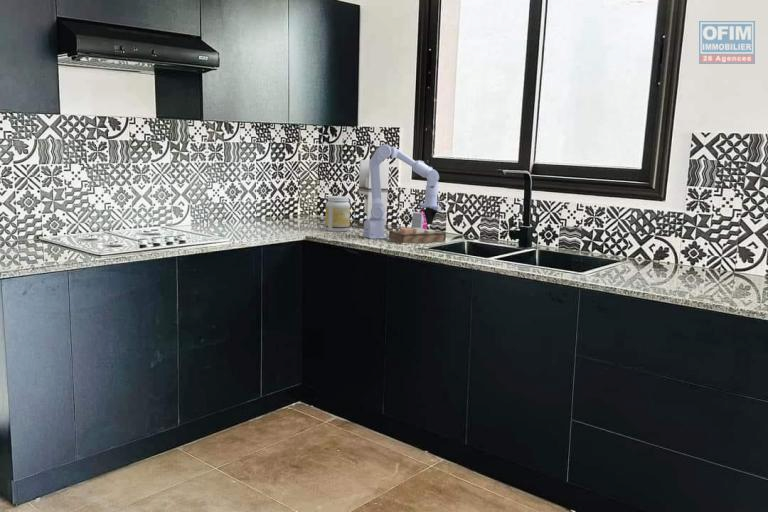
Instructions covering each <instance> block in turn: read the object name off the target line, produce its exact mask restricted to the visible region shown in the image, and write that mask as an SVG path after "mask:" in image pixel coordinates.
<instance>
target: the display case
mask: <svg viewBox="0 0 768 512" xmlns="http://www.w3.org/2000/svg"><path fill="white" fill-rule="evenodd" d="M370 160H371V159H359V175H358V194H361V195H364V209H363V210H364V213H365V214H366V217H365V218H366V219H365V220H367V219H370V217H371V209H372V190H371V175H370ZM389 175H390V161H385V160H384V161H383V162H382V163H381V164H380V180H381V195H382V204H383V207H384V209H385V213H384V215H383V217H384V218H385V228H384V230H386V229H387V214H388V213H387V211H388V197H389V196H388V194H389V193H388V191H389ZM356 227H357V228H361V229H363V230H364V222H356Z"/></svg>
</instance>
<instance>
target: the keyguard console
mask: <svg viewBox="0 0 768 512" xmlns="http://www.w3.org/2000/svg"><path fill="white" fill-rule="evenodd" d="M433 230H434V229H433ZM434 231H435V232H431V233H427V232H424V233H414V232H413V233H401V232H400V230H389V233H388V241H392V242H394V241H395V242H394V243H397V242H399V243H398V244H401V243H417V244H430V243H429V242H439V243H445V242H446V236H447V234H446V232H442V231H438V230H434ZM444 241H445V242H444ZM427 242H428V243H427Z"/></svg>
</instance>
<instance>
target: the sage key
mask: <svg viewBox="0 0 768 512" xmlns="http://www.w3.org/2000/svg"><path fill="white" fill-rule="evenodd" d="M435 231H436V230H435ZM435 231H434V229H427V230H424V232H427V233H431V232H435Z"/></svg>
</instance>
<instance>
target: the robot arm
mask: <svg viewBox="0 0 768 512" xmlns="http://www.w3.org/2000/svg"><path fill="white" fill-rule="evenodd" d="M390 156H391V158H393V159H394V158H395V159H399V160H400V161H402V162H404V163H406V165H409V166H410V167H411V168H412V171H413V172H414V173H416V174H417V175H419V176H421V177H422V178H426V185H425V194H424V195H425V197H424V202H420V204H419V205H420V206H419V208H423V209H422V212H423V213H424V214H425V217H426V222H427V225H432V224H433V223H434V222H433V221H434V219H435V216H436V215H437V213H438V212H441V211H442V206H441V205H439V204H438V195H439V194H438V192H439V180H440V175H439V172H438V171H437V170H436V169H433V167H432V166H429V165H427V164H426V163H425V161H423V160H420V159H418V160H414V159H413V158H412V157H411V156H409V155H407V154H406V153H404V152H402V151H401V150H400V149H398V148H397V147H393V146H391V145H390V144H386V143H385V144H381V145H380V146H378V148H376V149H375V151H374V153H373V154H372V157H371V158H370V159H369V160H370V175H371V190H372V209H371V217H370V219H367V220H366V219H365V220H364V222H363V223H364V229H363V234H362V237H364V238H367V239H371V240H372V239H373V240H374V239H375V240H376V239H389V236H385V229H384V228H385V218H384V217H383V215H384V213H385V209H384V207H383V204H382V195H381V180H380V164H381V163H382V162H383V161H385V160H386V159H388V158H389V157H390Z"/></svg>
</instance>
